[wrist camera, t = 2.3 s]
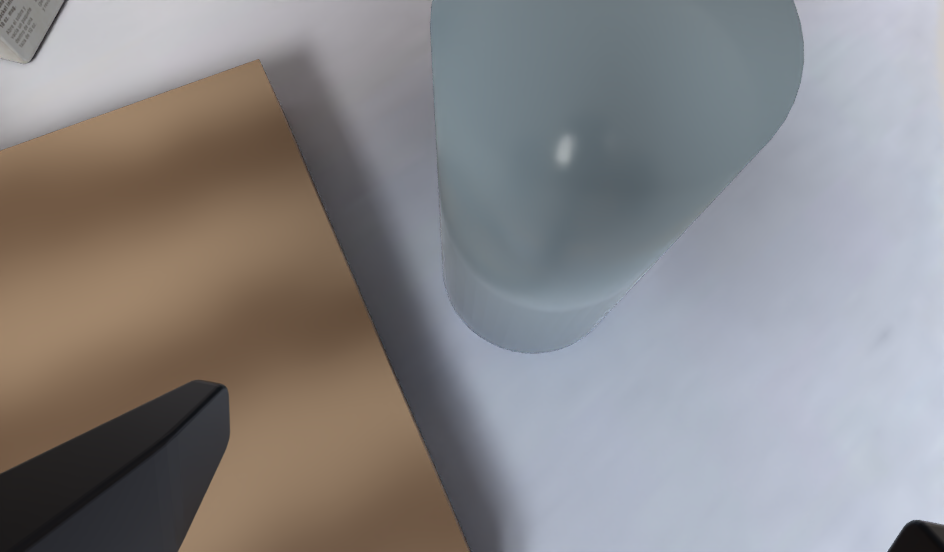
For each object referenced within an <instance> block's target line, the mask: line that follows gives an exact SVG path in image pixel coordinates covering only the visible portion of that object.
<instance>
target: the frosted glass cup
mask: <svg viewBox="0 0 944 552" xmlns="http://www.w3.org/2000/svg"><path fill="white" fill-rule="evenodd" d="M430 32H431V52H432V71H433V91H434V111H435V130H436V150H437V169H438V189H439V208H440V228H441V248H442V267H443V279H444V284H445V288H446V292H447V295H448V297H449V300H450V302H451V304H452V306H453V308H454V309H455V311H456V313H457V314H458V315H459V317H460V318H461V319H462V321H463V322H464V323H465V324H466V325H467V326H468V327H469V328H470V329H471V330H472V331H473V332H475V333H476V334H477V335H478V336H480V337H481V338H483V339H485V340H486V341H488V342H490V343H492V344H494V345H496V346H498V347H501V348H504V349H507V350H511V351H515V352H521V353H544V352H551V351H555V350H559V349H562V348H564V347H567V346H570V345H572V344H573V343H575V342H577V341H579V340H581V339H582V338H583V337H585V336H586V335H587V334H589V333H590V332H591V331H592V330H593V329H594V328H595V327H596V326H597V325H598V324H599V323H600V322H601V321H602V320H603V318H604V317H605V316H606V315H607V314H608V313H609V312H610V311H611V310H612V309H613V308H614V307H615V306H616V305H617V303H618V302H619V301H620V300H621V299H622V298H623V297H624V296H625V295H626V294H627V293H628V292H629V291H630V290H631V288H632V287H633V286H634V285H635V284H636V283H637V282H638V281H639V280H640V279H641V278H642V277H643V276H644V275H645V273H646V272H647V271H648V270H649V269H650V268H651V267H652V266H653V265H654V264H655V263H656V262H657V261H658V260H659V258H660V257H661V256H662V255H663V254H664V253H665V252H666V251H667V250H668V249H669V248H670V247H671V246H672V245H673V243H674V242H675V241H676V240H677V239H678V238H679V237H680V236H681V235H682V234H683V233H684V232H685V231H686V230H687V228H688V227H689V226H690V225H691V224H692V223H693V222H694V221H695V220H696V219H697V218H698V217H699V216H700V215H701V213H702V212H703V211H704V210H705V209H706V208H707V207H708V206H709V205H710V204H711V203H712V202H713V201H714V200H715V198H716V197H717V196H718V195H719V194H720V193H721V192H722V191H723V190H724V189H725V188H726V187H727V186H728V185H729V183H730V182H731V181H732V180H733V179H734V178H735V177H736V176H737V175H738V174H739V173H740V172H741V171H742V170H743V168H744V167H745V166H746V165H747V164H748V163H749V162H750V161H751V160H752V159H753V158H754V157H755V156H756V155H757V153H758V152H759V151H760V150H761V149H762V148H763V147H764V146H765V145H766V144H767V143H768V142H769V141H770V140H771V138H772V137H773V136H774V134H775V133H776V132H777V130H778V129H779V128H780V126H781V125H782V124H783V122H784V121H785V119H786V117H787V115H788V113H789V111H790V109H791V107H792V106H793V104H794V101H795V98H796V95H797V92H798V89H799V86H800V83H801V77H802V70H803V64H804V42H803V36H802V30H801V23H800V19H799V16H798V13H797V10H796V7H795V4H794V1H793V0H433V2H432V6H431V23H430Z"/></svg>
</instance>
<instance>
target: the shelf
mask: <svg viewBox="0 0 944 552" xmlns="http://www.w3.org/2000/svg"><path fill="white" fill-rule="evenodd" d="M193 380H206V381H211V382H216V383H221V384H224V385H225V386H226V387H227V389H228V392H229V410H230V438H229V442H228V445H227V448H226V451H225V453H224V455H223V457H222V459H221V462H220V464H219V466H218V468H217V470H216V472H215V474H214V477H213V479H212V481H211V483H210V485H209V487H208V490H207V492H206V494H205V496H204V498H203V500H202V502H201V505H200V507H199V509H198V511H197V513H196V515H195V517H194V520H193V522H192V524H191V526H190V528H189V530H188V532H187V535H186V537H185V539H184V541H183V543H182V545H181V547H180V549H179V551H178V552H471V550H470V548H469V546H468V543H467V541H466V539H465V536H464V534H463V532H462V529H461V527H460V525H459V522H458V520H457V518H456V515H455V513H454V511H453V508H452V506H451V504H450V501H449V499H448V497H447V494H446V492H445V490H444V487H443V485H442V483H441V480H440V478H439V476H438V473H437V471H436V469H435V466H434V464H433V462H432V459H431V457H430V454H429V452H428V450H427V447H426V445H425V443H424V440H423V438H422V436H421V433H420V431H419V429H418V426H417V424H416V422H415V419H414V417H413V415H412V412H411V410H410V408H409V405H408V403H407V401H406V398H405V396H404V394H403V391H402V389H401V387H400V384H399V382H398V380H397V377H396V375H395V373H394V370H393V368H392V366H391V363H390V361H389V358H388V356H387V354H386V351H385V349H384V347H383V344H382V342H381V340H380V337H379V335H378V333H377V330H376V328H375V326H374V323H373V321H372V319H371V316H370V314H369V312H368V309H367V307H366V305H365V302H364V300H363V298H362V295H361V293H360V291H359V288H358V286H357V284H356V281H355V279H354V277H353V274H352V272H351V270H350V267H349V265H348V262H347V260H346V258H345V255H344V253H343V251H342V248H341V246H340V244H339V241H338V239H337V237H336V234H335V232H334V230H333V227H332V225H331V223H330V220H329V218H328V216H327V213H326V211H325V209H324V206H323V204H322V202H321V199H320V197H319V195H318V192H317V190H316V188H315V185H314V183H313V181H312V178H311V176H310V174H309V171H308V169H307V166H306V164H305V162H304V159H303V157H302V155H301V152H300V150H299V148H298V145H297V143H296V141H295V138H294V136H293V134H292V131H291V129H290V127H289V124H288V122H287V120H286V117H285V115H284V113H283V110H282V108H281V106H280V104H279V101H278V99H277V97H276V95H275V93H274V91H273V88H272V86H271V84H270V82H269V80H268V78H267V75H266V73H265V71H264V69H263V67H262V65H261V62H260V60H259V59H258V60H255V61H252V62H249V63H246V64H243V65H241V66H238V67H235V68H232V69H229V70H227V71H224V72H221V73H218V74H215V75H212V76H210V77H207V78H204V79H201V80H198V81H196V82H193V83H190V84H187V85H184V86H181V87H179V88H176V89H173V90H170V91H167V92H165V93H162V94H159V95H156V96H153V97H150V98H148V99H145V100H142V101H139V102H136V103H134V104H131V105H128V106H125V107H122V108H119V109H117V110H114V111H111V112H108V113H105V114H103V115H100V116H97V117H94V118H91V119H88V120H86V121H83V122H80V123H77V124H74V125H72V126H69V127H66V128H63V129H60V130H57V131H55V132H52V133H49V134H46V135H43V136H41V137H38V138H35V139H32V140H29V141H26V142H24V143H21V144H18V145H15V146H12V147H10V148H7V149H4V150H1V151H0V473H2V472H4V471H6V470H8V469H10V468H13V467H15V466H17V465H19V464H21V463H23V462H25V461H27V460H29V459H31V458H33V457H35V456H37V455H39V454H41V453H44V452H46V451H48V450H50V449H52V448H54V447H56V446H58V445H60V444H62V443H64V442H66V441H68V440H70V439H72V438H75V437H77V436H79V435H81V434H83V433H85V432H87V431H89V430H91V429H93V428H95V427H97V426H99V425H101V424H103V423H105V422H108V421H110V420H112V419H114V418H116V417H118V416H120V415H122V414H124V413H126V412H128V411H130V410H132V409H134V408H136V407H139V406H141V405H143V404H145V403H147V402H149V401H151V400H153V399H155V398H157V397H159V396H161V395H163V394H165V393H167V392H169V391H172V390H174V389H176V388H178V387H180V386H182V385H184V384H186V383H188V382H190V381H193Z"/></svg>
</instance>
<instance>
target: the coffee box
mask: <svg viewBox="0 0 944 552" xmlns="http://www.w3.org/2000/svg"><path fill="white" fill-rule="evenodd" d="M63 2H64V0H0V58H2V59H6V60H10V61H14V62H18V63H22V64H25V63H28V62H29V61H30V60H31V59H32V58H33V56H34V54H35V52H36V50H37V49H38V47H39V45H40V43H41V41H42V40H43V38H44V36H45V34H46V33H47V31H48V29H49V27H50V25H51V24H52V22H53V20H54V18H55V16H56V15H57V13H58V11H59V9H60V7H61V6H62V4H63Z"/></svg>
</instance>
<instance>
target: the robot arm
mask: <svg viewBox="0 0 944 552" xmlns="http://www.w3.org/2000/svg"><path fill="white" fill-rule="evenodd" d="M229 438H230V410H229V392H228V389H227V387H226V386H225V385H224V384H221V383H216V382H211V381H206V380H193V381H190V382H188V383H186V384H184V385H182V386H180V387H178V388H176V389H174V390H172V391H169V392H167V393H165V394H163V395H161V396H159V397H157V398H155V399H153V400H151V401H149V402H147V403H145V404H143V405H141V406H139V407H136V408H134V409H132V410H130V411H128V412H126V413H124V414H122V415H120V416H118V417H116V418H114V419H112V420H110V421H108V422H105V423H103V424H101V425H99V426H97V427H95V428H93V429H91V430H89V431H87V432H85V433H83V434H81V435H79V436H77V437H75V438H72V439H70V440H68V441H66V442H64V443H62V444H60V445H58V446H56V447H54V448H52V449H50V450H48V451H46V452H44V453H41V454H39V455H37V456H35V457H33V458H31V459H29V460H27V461H25V462H23V463H21V464H19V465H17V466H15V467H13V468H10V469H8V470H6V471H4V472H2V473H0V552H178V551H179V549H180V547H181V545H182V543H183V541H184V539H185V537H186V535H187V532H188V530H189V528H190V526H191V524H192V522H193V520H194V517H195V515H196V513H197V511H198V509H199V507H200V505H201V502H202V500H203V498H204V496H205V494H206V492H207V490H208V487H209V485H210V483H211V481H212V479H213V477H214V474H215V472H216V470H217V468H218V466H219V464H220V462H221V459H222V457H223V455H224V453H225V451H226V448H227V445H228V442H229ZM887 552H944V525H942V524H937V523H932V522H927V521H922V520H912V521H911V522H909V523H907V524H906V525H905V526H904V527H903V529H902V530H901V532H900V533H899V535H898V536H897V538H896V539H895V541H894V542H893V544H892V545H891V547H890V548H889V550H888V551H887Z"/></svg>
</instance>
